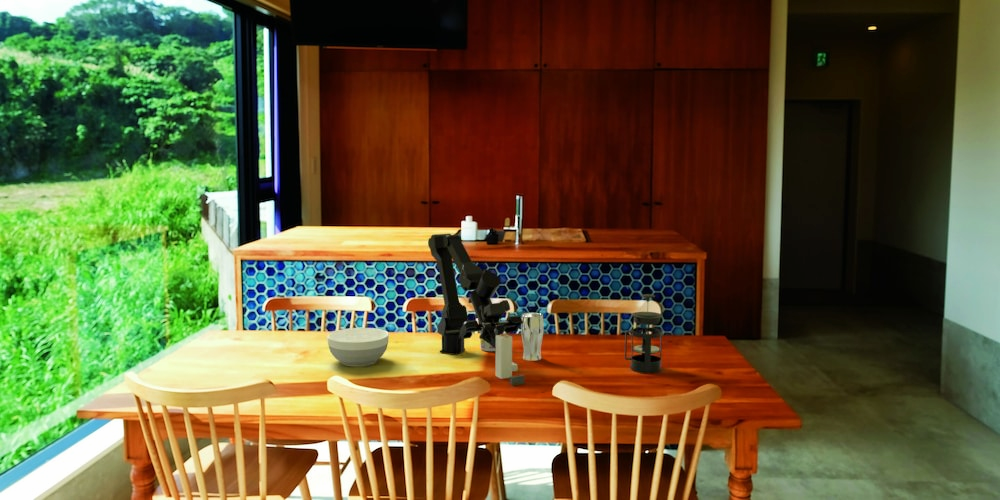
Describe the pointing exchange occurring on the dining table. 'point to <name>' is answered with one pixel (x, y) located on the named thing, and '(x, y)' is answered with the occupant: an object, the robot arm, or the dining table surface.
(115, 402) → the dining table surface
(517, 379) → the console board
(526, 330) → the beer glass
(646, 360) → the french press
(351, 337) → the bowl
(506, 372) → the white rectangular block
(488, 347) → the supplement bottle
